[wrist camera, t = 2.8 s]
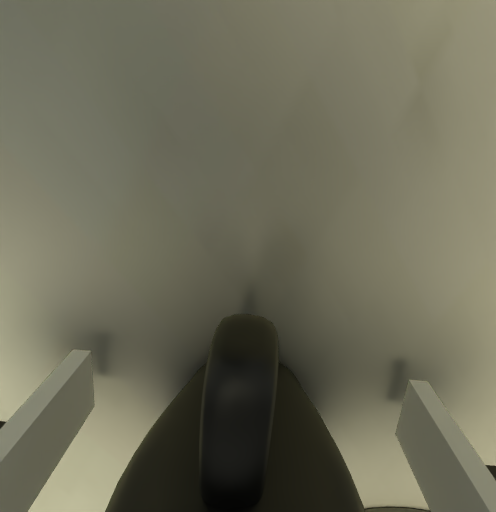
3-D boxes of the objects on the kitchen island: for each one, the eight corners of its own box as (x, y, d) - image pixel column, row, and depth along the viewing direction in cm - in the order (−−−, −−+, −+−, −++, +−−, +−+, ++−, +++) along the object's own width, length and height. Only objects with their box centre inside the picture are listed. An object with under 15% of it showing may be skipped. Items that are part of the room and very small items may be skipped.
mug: (359, 251, 15) (504, 414, 6) (319, 476, 19) (372, 791, 10) (161, 233, 15) (13, 369, 6) (158, 461, 19) (62, 758, 10)
